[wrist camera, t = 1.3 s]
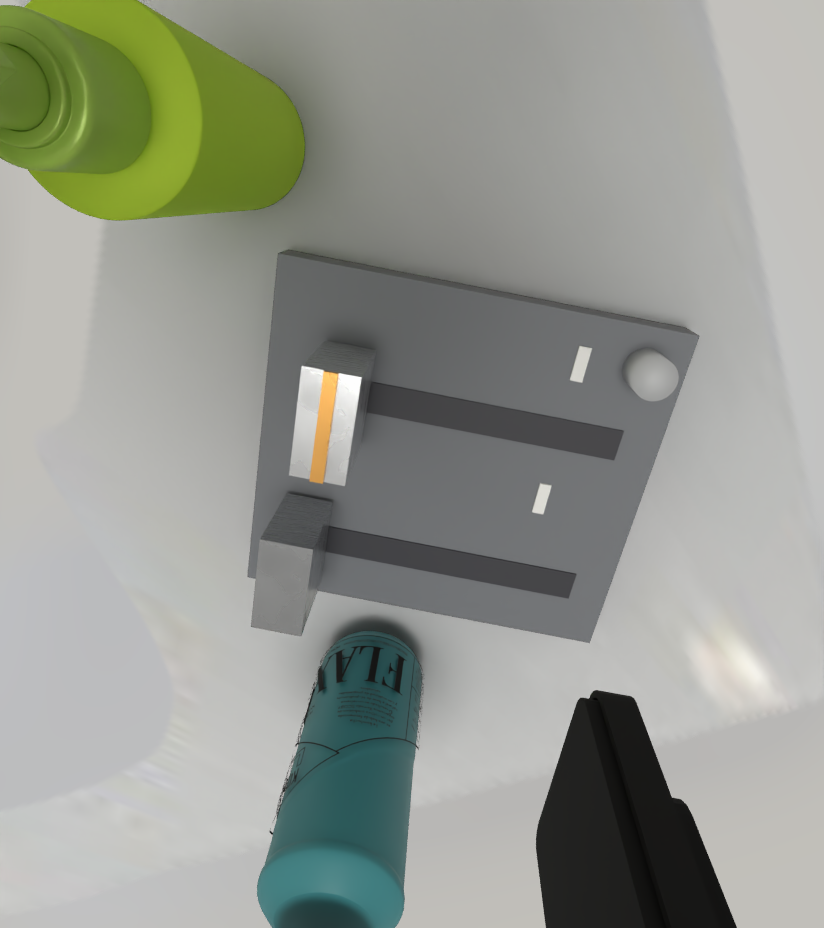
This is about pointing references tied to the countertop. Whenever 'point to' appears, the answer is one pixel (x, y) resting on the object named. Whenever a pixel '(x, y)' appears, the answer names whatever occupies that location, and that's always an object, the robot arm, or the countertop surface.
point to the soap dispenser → (139, 114)
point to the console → (473, 441)
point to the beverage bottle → (348, 793)
